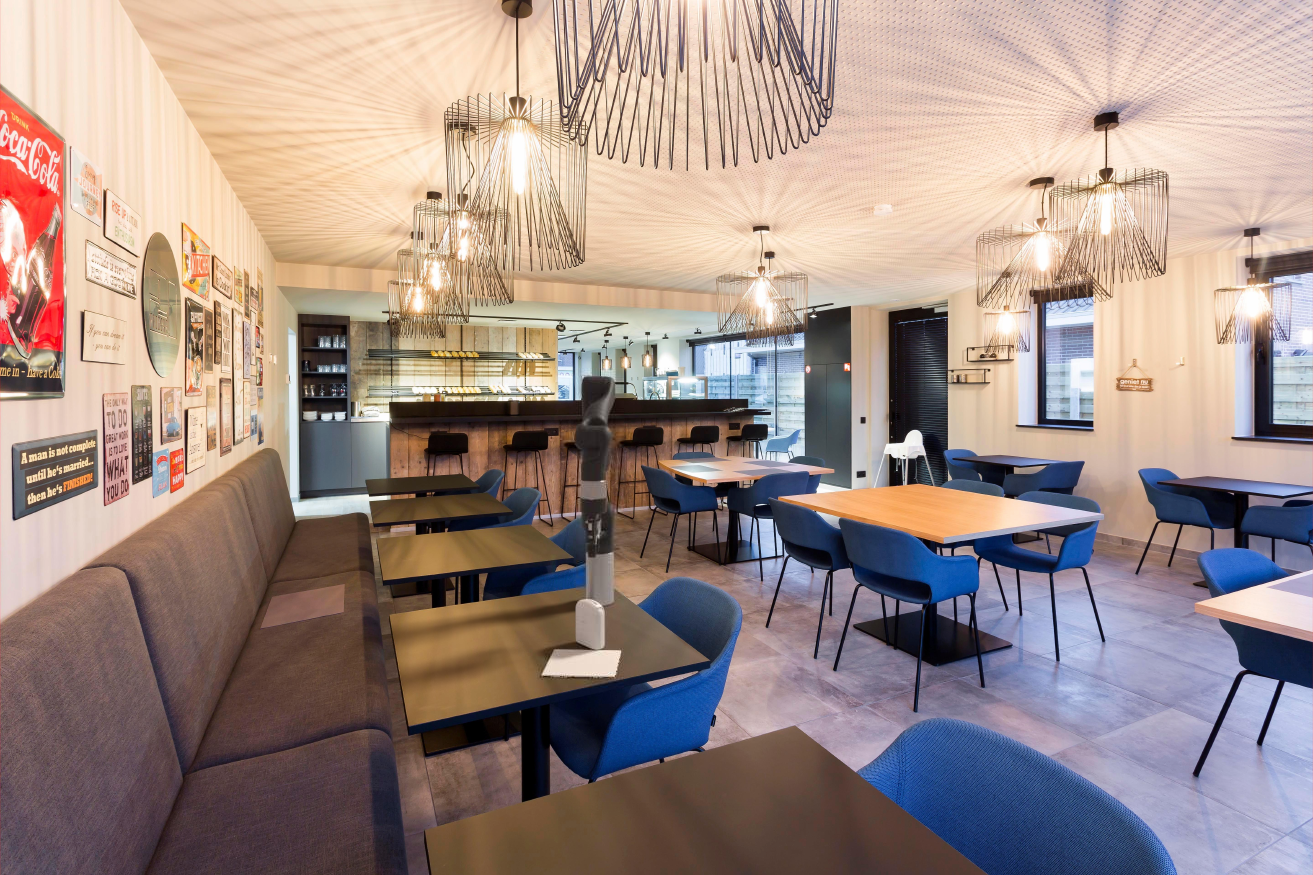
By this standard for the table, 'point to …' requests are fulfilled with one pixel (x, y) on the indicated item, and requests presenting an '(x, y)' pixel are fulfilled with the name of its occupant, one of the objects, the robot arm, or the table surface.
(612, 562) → the robot arm
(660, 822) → the table surface
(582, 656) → the mat
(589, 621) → the photo printer
